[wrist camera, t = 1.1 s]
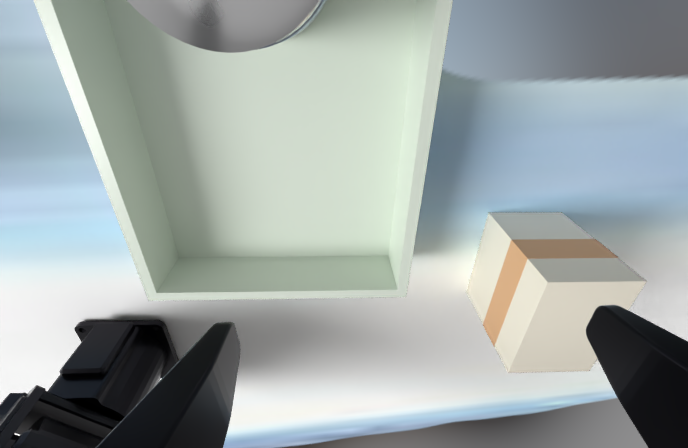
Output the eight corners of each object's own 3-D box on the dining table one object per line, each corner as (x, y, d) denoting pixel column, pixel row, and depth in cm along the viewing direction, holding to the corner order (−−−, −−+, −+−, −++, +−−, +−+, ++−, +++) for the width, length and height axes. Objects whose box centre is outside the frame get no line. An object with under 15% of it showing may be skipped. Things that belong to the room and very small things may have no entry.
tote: (394, 257, 24) (406, 297, 20) (175, 259, 23) (148, 300, 19) (450, -192, 13) (495, -273, 9) (33, -215, 12) (-86, -311, 8)
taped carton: (529, 290, 26) (589, 371, 20) (465, 291, 26) (507, 373, 20) (561, 211, 22) (647, 280, 16) (487, 211, 22) (547, 282, 16)
